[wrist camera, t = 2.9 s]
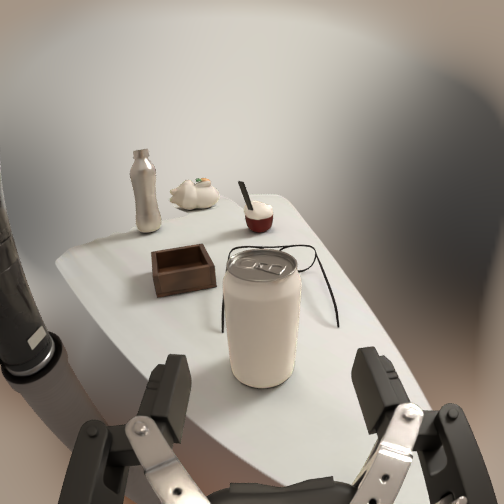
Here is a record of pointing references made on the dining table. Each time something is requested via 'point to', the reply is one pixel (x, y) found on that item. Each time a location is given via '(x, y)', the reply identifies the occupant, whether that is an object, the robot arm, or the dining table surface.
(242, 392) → the dining table surface
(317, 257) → the glasses
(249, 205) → the cocoa
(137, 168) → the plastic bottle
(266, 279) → the can
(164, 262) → the tray
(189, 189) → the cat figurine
